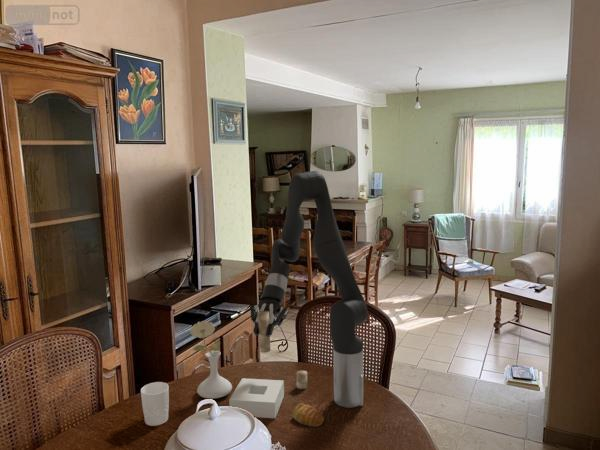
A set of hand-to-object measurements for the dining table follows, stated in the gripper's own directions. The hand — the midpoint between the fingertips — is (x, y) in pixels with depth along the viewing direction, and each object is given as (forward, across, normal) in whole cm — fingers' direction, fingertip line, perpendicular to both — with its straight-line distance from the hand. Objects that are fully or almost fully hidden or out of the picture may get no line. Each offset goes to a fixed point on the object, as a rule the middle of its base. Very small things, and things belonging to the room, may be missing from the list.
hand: (261, 335), depth 148 cm
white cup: (+32, -24, -4) cm, 40 cm away
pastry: (+22, +19, +7) cm, 30 cm away
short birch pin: (+9, +11, +19) cm, 24 cm away
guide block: (+20, +2, +8) cm, 21 cm away
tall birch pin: (+3, 0, +6) cm, 6 cm away
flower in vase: (+18, -16, +10) cm, 26 cm away
